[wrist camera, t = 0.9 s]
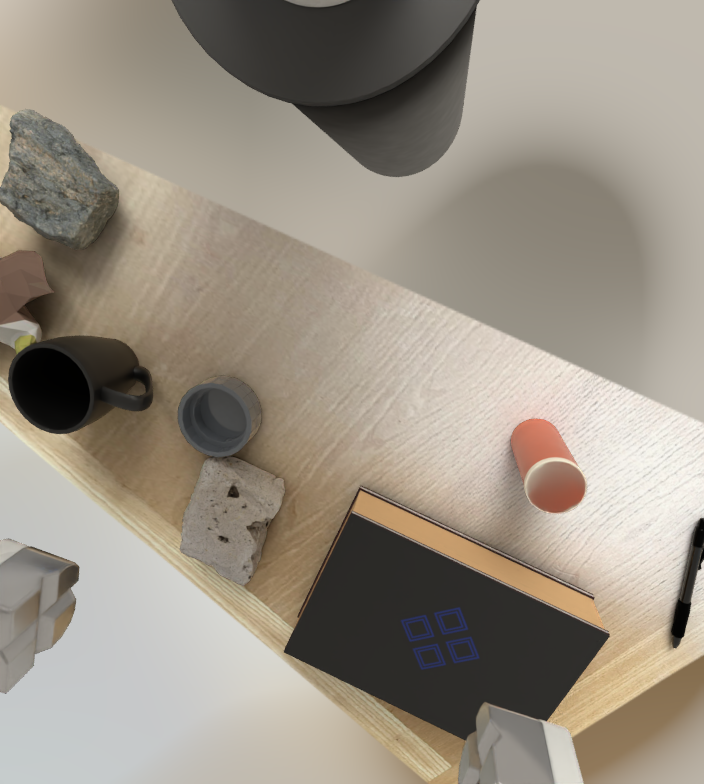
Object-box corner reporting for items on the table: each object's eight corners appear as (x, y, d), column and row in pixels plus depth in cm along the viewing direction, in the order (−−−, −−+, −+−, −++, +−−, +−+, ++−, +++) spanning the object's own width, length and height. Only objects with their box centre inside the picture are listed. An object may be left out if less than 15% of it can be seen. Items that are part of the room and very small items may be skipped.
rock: (148, 222, 51) (121, 215, 46) (61, 267, 53) (26, 264, 48) (86, 95, 50) (52, 73, 45) (-2, 144, 51) (-44, 129, 46)
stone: (296, 464, 55) (205, 440, 56) (275, 494, 49) (176, 466, 51) (282, 566, 60) (199, 541, 61) (262, 603, 55) (172, 575, 56)
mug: (182, 420, 56) (131, 455, 47) (76, 393, 57) (6, 422, 48) (190, 344, 53) (139, 365, 44) (79, 317, 55) (7, 333, 46)
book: (507, 708, 59) (514, 765, 53) (300, 609, 60) (283, 652, 54) (591, 589, 53) (610, 636, 47) (361, 481, 54) (350, 513, 48)
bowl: (194, 369, 54) (178, 377, 51) (265, 380, 53) (253, 389, 50) (192, 437, 56) (176, 450, 53) (260, 449, 55) (249, 463, 52)
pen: (719, 521, 49) (710, 515, 50) (701, 521, 49) (693, 515, 50) (689, 651, 53) (681, 642, 54) (672, 651, 52) (665, 643, 54)
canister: (515, 414, 50) (531, 455, 40) (565, 422, 49) (593, 465, 40) (505, 458, 51) (519, 508, 42) (554, 466, 51) (579, 519, 41)
